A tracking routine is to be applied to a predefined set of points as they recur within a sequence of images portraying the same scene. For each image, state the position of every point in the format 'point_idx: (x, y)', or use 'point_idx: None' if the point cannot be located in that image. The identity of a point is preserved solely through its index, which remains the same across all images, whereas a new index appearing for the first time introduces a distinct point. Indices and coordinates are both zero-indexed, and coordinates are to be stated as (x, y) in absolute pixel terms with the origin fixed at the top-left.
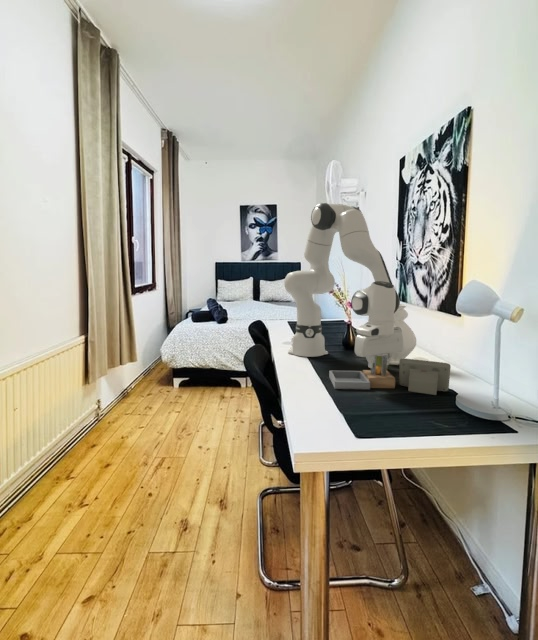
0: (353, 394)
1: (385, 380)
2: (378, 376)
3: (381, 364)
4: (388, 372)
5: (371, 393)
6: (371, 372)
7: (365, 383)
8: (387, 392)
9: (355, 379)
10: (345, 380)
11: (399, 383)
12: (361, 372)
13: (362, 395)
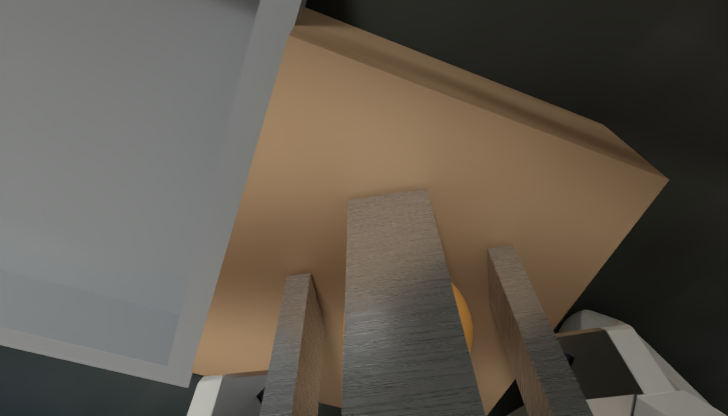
0: (14, 378)
1: None
2: (334, 359)
3: (520, 338)
4: (588, 270)
5: (179, 393)
6: (287, 304)
7: (140, 368)
8: (322, 404)
9: (177, 34)
10: (11, 31)
11: (562, 326)
12: (279, 15)
13: (86, 406)
